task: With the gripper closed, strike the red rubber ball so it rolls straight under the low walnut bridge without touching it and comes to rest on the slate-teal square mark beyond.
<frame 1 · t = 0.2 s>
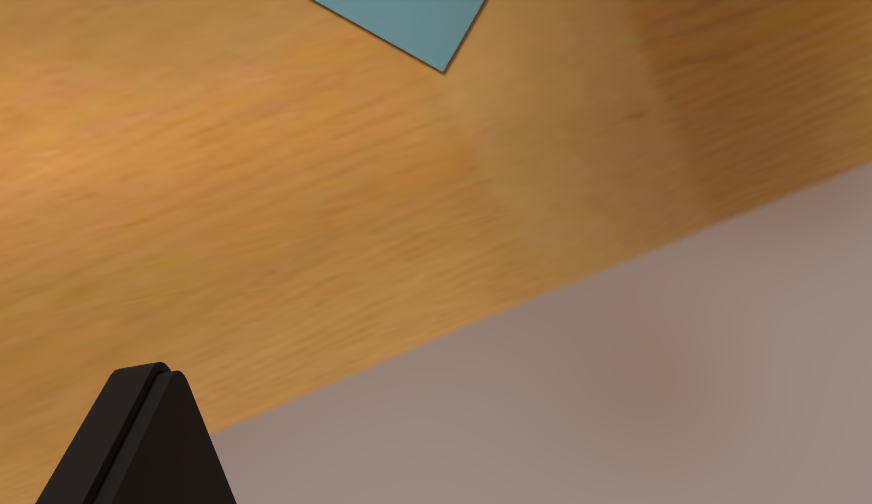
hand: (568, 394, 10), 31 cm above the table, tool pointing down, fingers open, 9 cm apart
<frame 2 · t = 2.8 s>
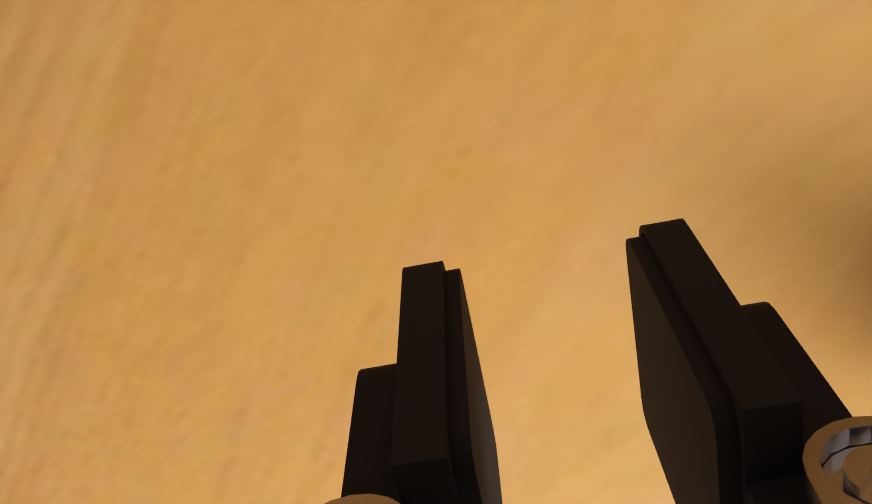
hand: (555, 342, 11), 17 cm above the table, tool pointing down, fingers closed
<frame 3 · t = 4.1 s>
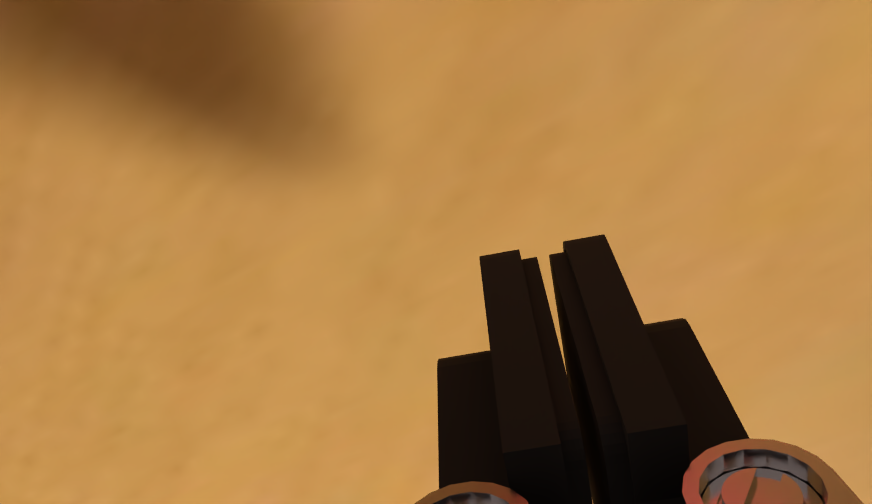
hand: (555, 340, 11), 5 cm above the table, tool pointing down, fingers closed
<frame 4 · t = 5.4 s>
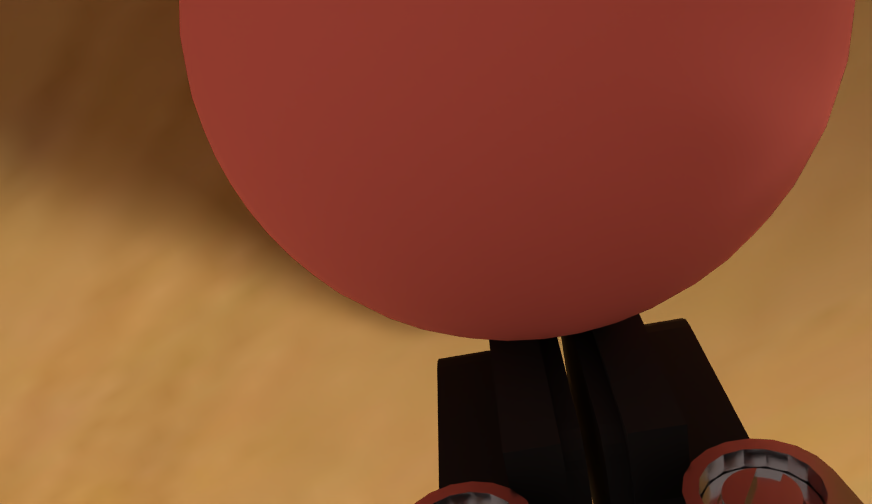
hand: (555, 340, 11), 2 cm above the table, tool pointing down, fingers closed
ball: (505, 25, 8), on the table
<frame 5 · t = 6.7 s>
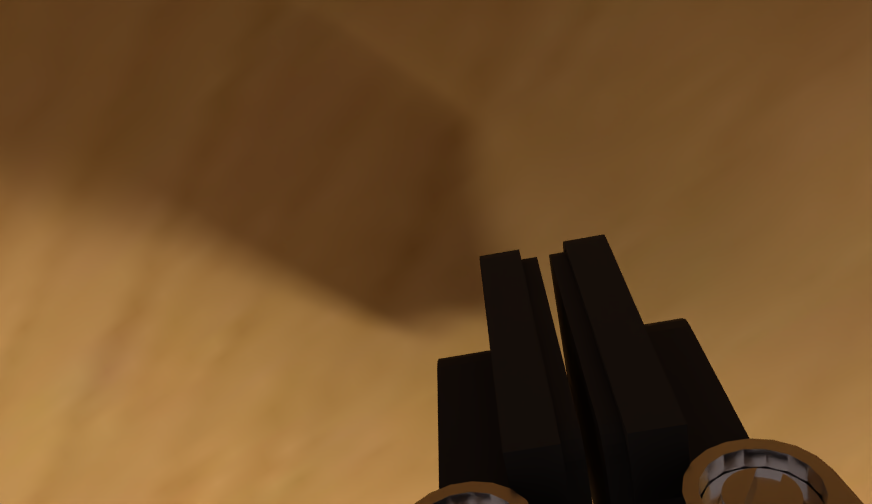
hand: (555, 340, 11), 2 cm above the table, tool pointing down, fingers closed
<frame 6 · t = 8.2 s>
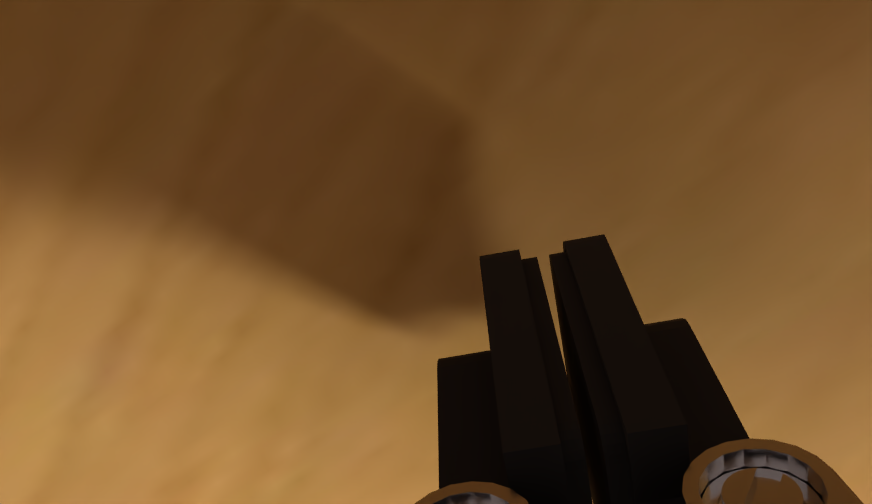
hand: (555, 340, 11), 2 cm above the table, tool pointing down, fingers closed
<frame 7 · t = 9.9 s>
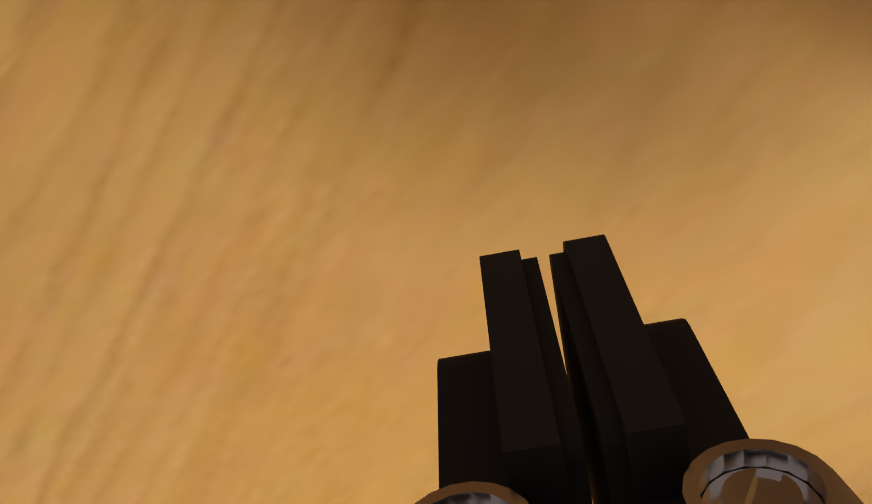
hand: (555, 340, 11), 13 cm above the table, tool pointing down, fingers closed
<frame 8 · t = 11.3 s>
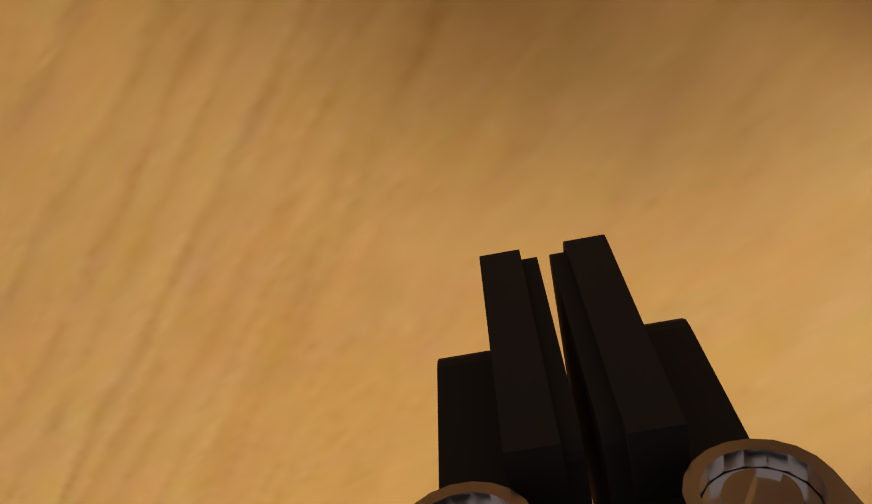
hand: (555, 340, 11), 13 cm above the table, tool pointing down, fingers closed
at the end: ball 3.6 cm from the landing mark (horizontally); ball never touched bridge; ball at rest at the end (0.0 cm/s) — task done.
